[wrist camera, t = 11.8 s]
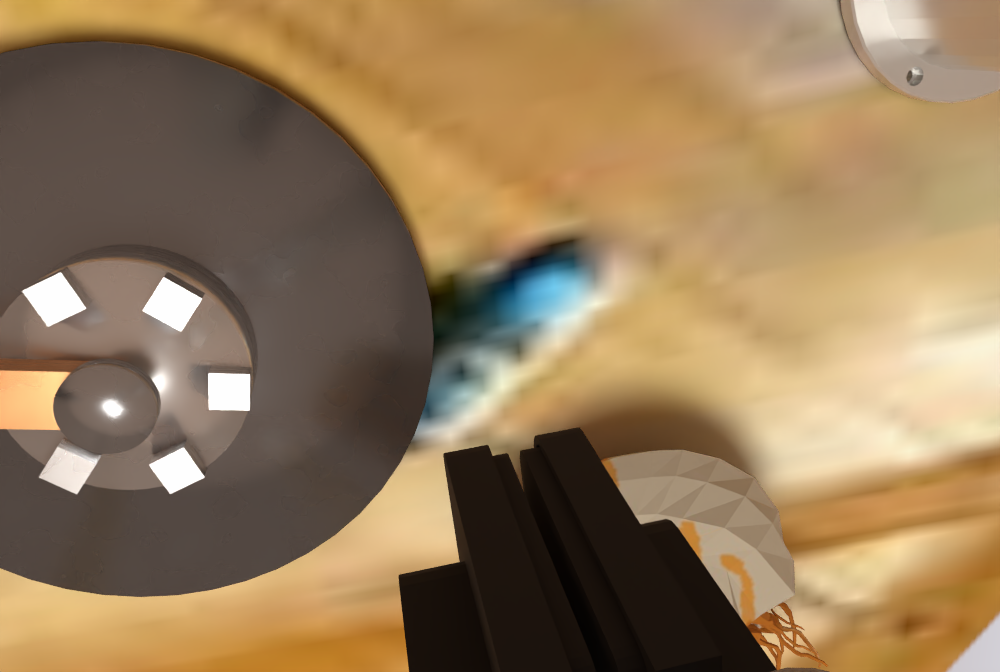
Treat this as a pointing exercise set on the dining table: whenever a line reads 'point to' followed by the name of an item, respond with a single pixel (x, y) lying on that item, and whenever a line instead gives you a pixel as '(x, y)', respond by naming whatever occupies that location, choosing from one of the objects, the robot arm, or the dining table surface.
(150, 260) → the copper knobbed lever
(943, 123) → the dining table surface
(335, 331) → the dark gray metal disc
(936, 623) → the dining table surface
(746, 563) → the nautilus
